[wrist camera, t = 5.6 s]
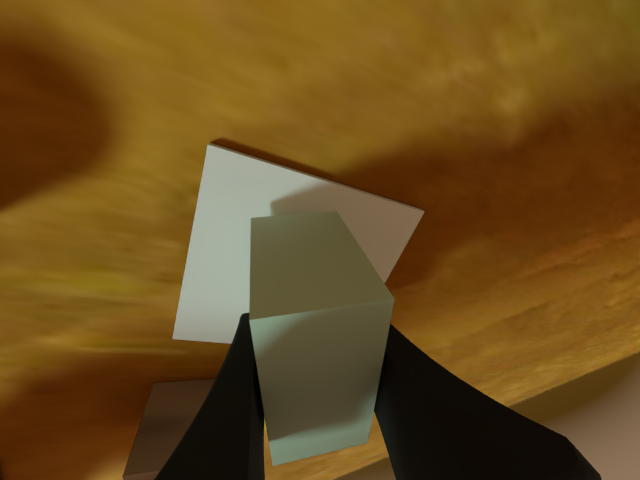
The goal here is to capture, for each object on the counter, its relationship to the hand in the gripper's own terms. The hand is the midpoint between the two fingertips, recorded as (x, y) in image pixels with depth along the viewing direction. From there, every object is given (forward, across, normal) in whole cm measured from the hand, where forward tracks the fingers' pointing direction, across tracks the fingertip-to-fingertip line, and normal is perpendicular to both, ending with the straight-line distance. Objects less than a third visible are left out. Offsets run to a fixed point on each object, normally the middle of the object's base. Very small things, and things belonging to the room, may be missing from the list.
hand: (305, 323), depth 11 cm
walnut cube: (+4, +7, +9) cm, 12 cm away
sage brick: (+2, 0, 0) cm, 2 cm away
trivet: (+3, 0, 0) cm, 3 cm away
